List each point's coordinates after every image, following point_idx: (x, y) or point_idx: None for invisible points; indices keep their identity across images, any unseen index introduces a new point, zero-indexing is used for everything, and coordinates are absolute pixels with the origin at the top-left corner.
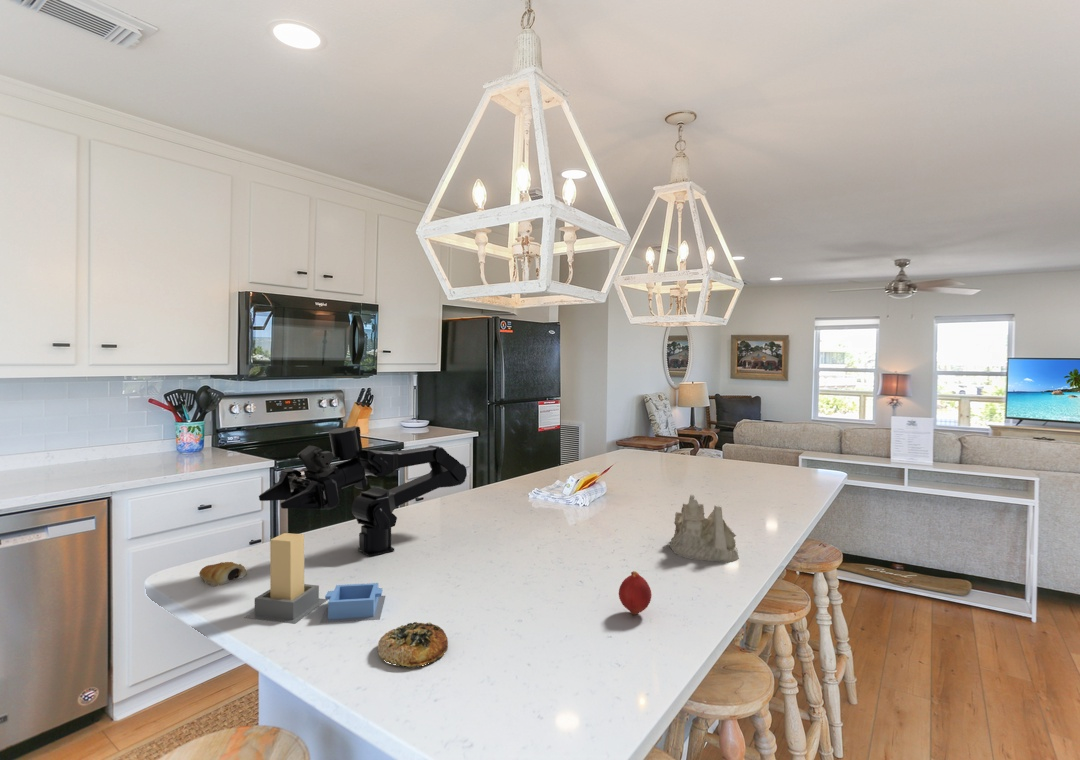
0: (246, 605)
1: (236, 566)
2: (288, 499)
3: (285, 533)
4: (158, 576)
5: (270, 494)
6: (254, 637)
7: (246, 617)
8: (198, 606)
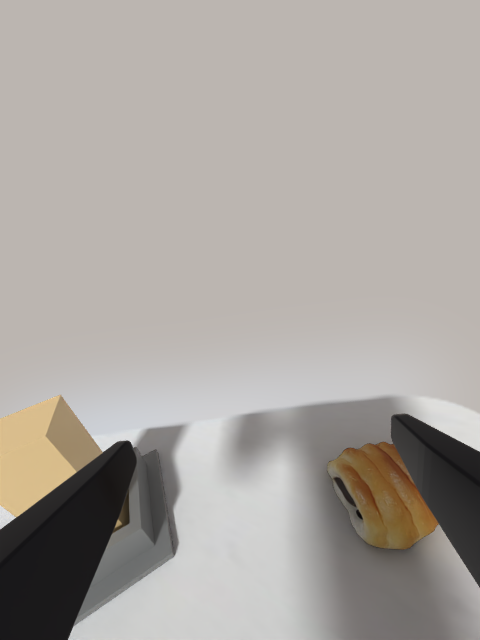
0: (204, 477)
1: (350, 493)
2: (82, 472)
3: (40, 436)
4: (459, 405)
5: (457, 502)
6: (107, 446)
7: (152, 452)
8: (261, 422)
